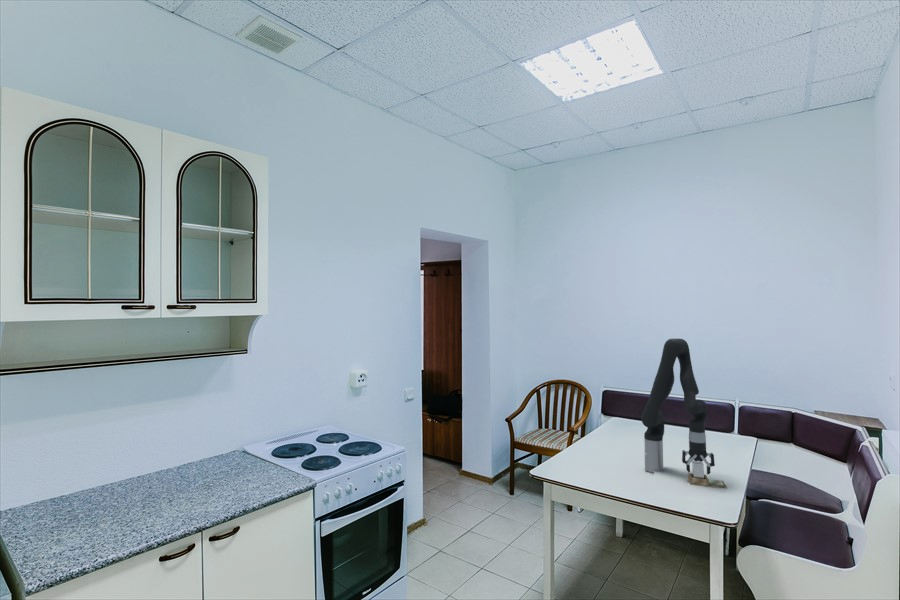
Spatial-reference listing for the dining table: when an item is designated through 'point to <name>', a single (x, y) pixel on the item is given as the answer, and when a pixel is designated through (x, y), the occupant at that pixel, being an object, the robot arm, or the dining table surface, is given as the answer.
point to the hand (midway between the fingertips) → (698, 472)
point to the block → (698, 469)
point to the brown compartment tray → (706, 482)
